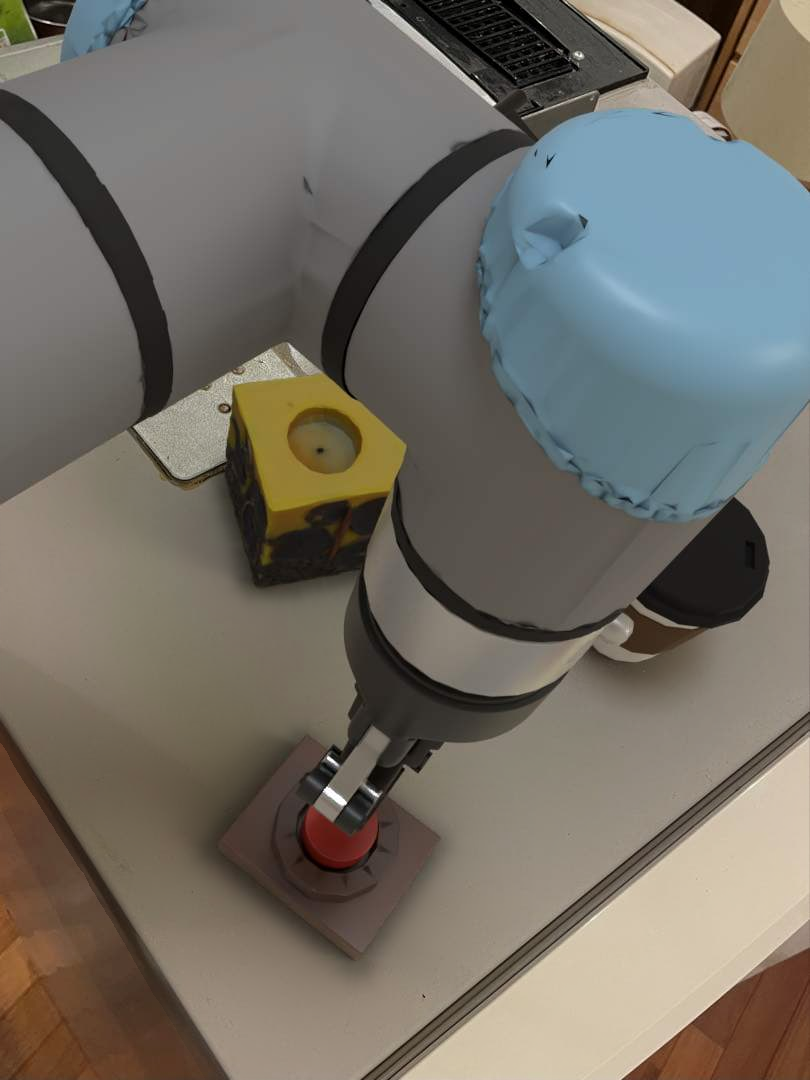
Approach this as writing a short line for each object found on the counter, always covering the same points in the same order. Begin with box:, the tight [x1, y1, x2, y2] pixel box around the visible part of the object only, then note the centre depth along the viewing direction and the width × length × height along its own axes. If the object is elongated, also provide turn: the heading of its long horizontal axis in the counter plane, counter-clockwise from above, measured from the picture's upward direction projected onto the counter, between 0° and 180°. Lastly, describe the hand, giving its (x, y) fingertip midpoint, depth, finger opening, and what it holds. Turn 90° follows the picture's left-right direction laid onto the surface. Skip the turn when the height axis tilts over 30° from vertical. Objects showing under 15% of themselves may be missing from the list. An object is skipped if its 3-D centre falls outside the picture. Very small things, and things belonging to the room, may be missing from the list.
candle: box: [224, 372, 407, 587], centre depth 66 cm, size 10×10×10 cm
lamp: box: [720, 0, 810, 183], centre depth 71 cm, size 11×11×32 cm
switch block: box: [217, 734, 442, 961], centre depth 57 cm, size 10×8×4 cm
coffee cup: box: [591, 496, 771, 663], centre depth 66 cm, size 11×11×12 cm
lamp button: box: [301, 805, 378, 869], centre depth 54 cm, size 4×4×2 cm
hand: (348, 802), depth 51 cm, fingers closed
